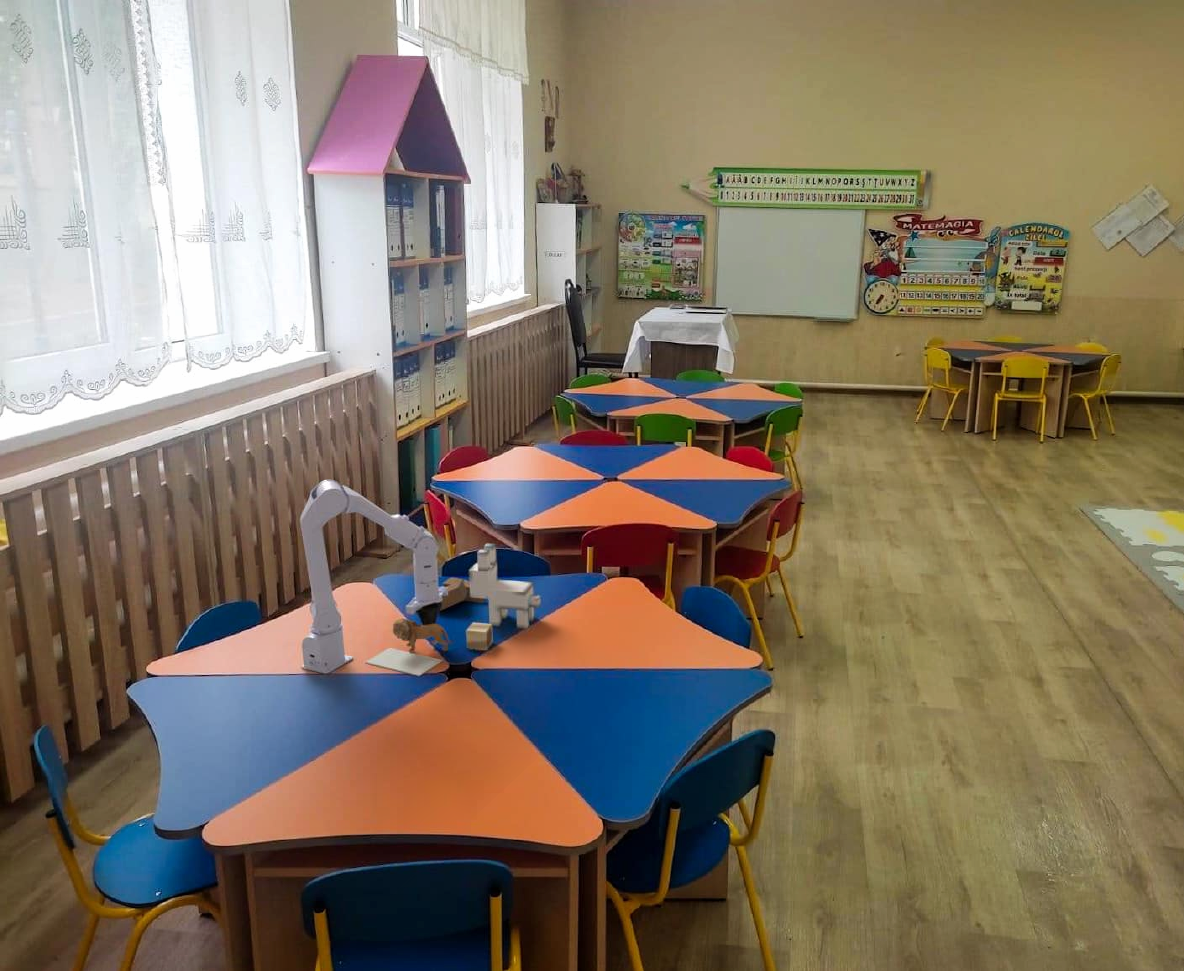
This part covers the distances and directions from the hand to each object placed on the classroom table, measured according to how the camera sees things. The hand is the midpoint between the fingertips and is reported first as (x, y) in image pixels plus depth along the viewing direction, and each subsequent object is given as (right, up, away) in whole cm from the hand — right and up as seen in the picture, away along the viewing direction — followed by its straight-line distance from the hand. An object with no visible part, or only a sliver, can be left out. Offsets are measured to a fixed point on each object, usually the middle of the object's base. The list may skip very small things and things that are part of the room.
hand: (429, 631), depth 240 cm
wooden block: (+4, +3, +29) cm, 30 cm away
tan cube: (+12, -4, +1) cm, 13 cm away
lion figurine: (-2, -4, -2) cm, 5 cm away
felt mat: (-5, -6, -8) cm, 11 cm away
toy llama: (+18, 0, +15) cm, 24 cm away
